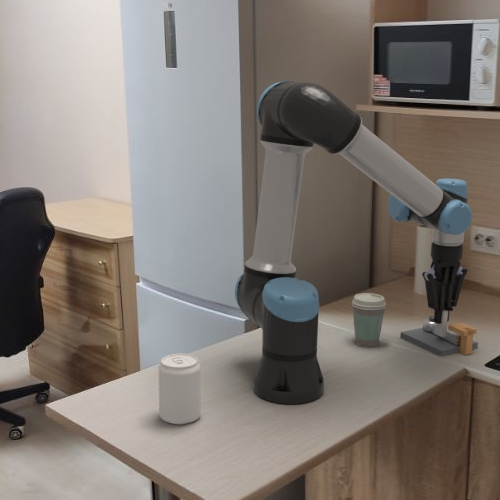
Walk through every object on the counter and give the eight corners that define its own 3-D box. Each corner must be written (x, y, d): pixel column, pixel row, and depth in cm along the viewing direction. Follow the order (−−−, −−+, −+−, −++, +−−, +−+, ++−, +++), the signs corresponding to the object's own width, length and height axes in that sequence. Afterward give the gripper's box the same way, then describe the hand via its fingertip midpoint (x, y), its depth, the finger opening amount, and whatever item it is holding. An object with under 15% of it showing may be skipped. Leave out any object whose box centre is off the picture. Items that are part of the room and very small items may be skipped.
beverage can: (166, 429, 146) (165, 370, 143) (154, 412, 153) (153, 355, 151) (206, 422, 149) (206, 364, 147) (192, 405, 157) (192, 350, 154)
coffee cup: (383, 350, 189) (386, 303, 186) (348, 347, 190) (350, 301, 187) (384, 338, 197) (387, 293, 194) (351, 335, 198) (353, 291, 195)
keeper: (462, 355, 186) (464, 331, 184) (446, 348, 190) (448, 324, 189) (474, 353, 187) (476, 328, 186) (458, 345, 192) (460, 322, 191)
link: (419, 327, 200) (419, 315, 199) (434, 325, 201) (435, 313, 201) (453, 345, 187) (454, 332, 186) (468, 342, 189) (470, 329, 188)
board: (441, 356, 185) (441, 350, 184) (400, 337, 197) (400, 332, 197) (477, 348, 191) (477, 342, 190) (435, 330, 203) (435, 324, 203)
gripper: (455, 237, 193) (448, 327, 198) (416, 242, 187) (410, 334, 192) (478, 243, 186) (470, 335, 192) (438, 248, 180) (431, 343, 185)
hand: (440, 334), depth 192 cm, fingers closed
